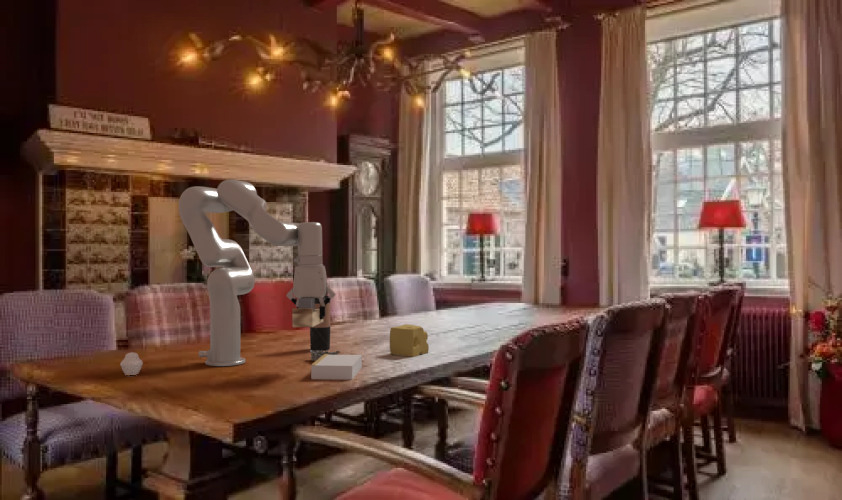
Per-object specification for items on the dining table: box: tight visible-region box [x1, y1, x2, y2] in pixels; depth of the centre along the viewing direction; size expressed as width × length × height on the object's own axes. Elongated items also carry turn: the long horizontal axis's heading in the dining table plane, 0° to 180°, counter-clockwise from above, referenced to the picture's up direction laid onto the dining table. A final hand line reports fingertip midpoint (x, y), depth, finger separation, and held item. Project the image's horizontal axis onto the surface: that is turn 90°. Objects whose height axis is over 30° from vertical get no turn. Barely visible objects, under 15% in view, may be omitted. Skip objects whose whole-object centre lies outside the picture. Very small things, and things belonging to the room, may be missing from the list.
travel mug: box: [309, 295, 331, 352], centre depth 243 cm, size 8×8×20 cm
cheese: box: [389, 323, 430, 358], centre depth 233 cm, size 10×11×10 cm
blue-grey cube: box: [297, 298, 315, 311], centre depth 198 cm, size 4×4×4 cm
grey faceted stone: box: [120, 351, 144, 376], centre depth 193 cm, size 6×6×7 cm
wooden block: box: [291, 307, 323, 328], centre depth 199 cm, size 6×15×6 cm, turn 176°
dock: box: [310, 354, 363, 381], centre depth 197 cm, size 12×19×4 cm, turn 177°
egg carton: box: [309, 349, 341, 362], centre depth 219 cm, size 11×8×4 cm
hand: (311, 318), depth 202 cm, fingers closed on wooden block, 6 cm apart
